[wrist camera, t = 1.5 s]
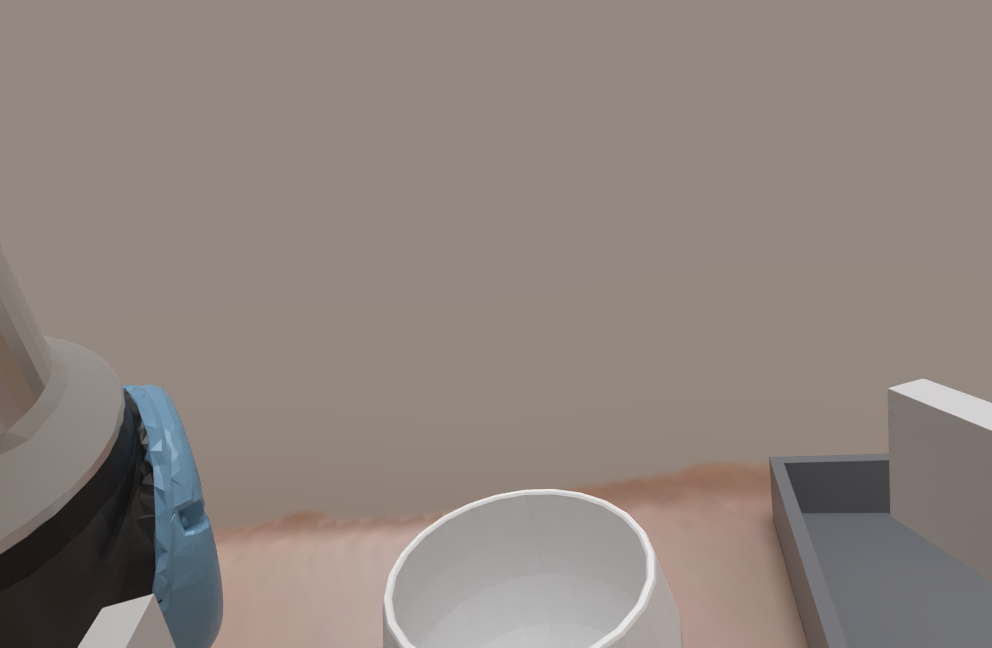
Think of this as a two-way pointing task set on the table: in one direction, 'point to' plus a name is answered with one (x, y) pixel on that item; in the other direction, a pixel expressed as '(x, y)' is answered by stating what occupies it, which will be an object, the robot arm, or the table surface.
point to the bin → (869, 562)
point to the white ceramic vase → (531, 579)
